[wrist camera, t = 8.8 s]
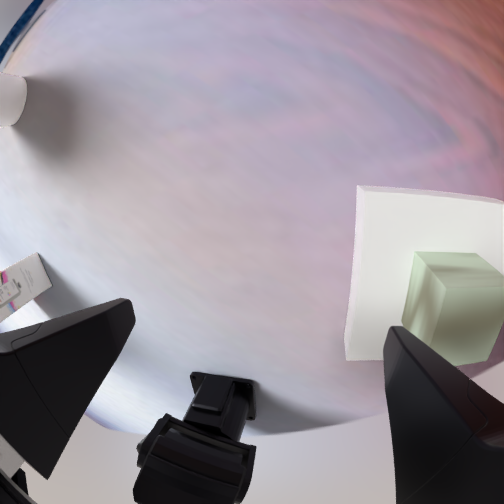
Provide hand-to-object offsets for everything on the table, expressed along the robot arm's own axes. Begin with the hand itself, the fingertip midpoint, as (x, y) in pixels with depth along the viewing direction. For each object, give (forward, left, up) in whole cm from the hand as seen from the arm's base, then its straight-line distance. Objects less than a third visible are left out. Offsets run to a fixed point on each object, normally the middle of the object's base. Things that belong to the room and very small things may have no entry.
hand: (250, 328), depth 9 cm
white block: (-3, -11, -12) cm, 16 cm away
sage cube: (-3, -11, -8) cm, 14 cm away
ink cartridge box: (-6, +32, -12) cm, 35 cm away
